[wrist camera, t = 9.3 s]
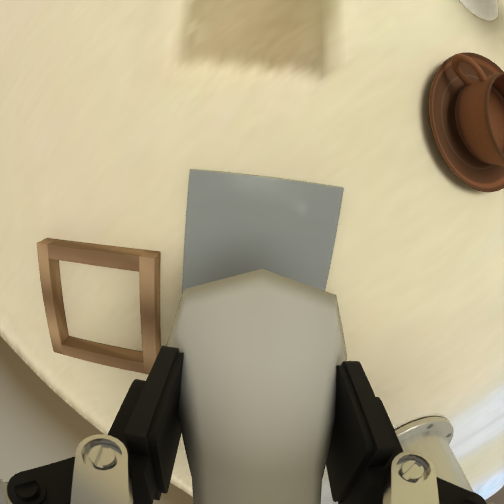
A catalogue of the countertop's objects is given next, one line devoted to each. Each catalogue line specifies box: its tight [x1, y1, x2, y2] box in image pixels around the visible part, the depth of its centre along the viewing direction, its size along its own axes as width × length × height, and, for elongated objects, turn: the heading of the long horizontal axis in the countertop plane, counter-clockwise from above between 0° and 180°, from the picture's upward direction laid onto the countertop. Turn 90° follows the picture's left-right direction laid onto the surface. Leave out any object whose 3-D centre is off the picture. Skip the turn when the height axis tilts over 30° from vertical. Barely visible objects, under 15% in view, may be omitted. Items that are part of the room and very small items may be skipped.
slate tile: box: [182, 169, 344, 294], centre depth 24 cm, size 11×11×1 cm
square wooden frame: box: [37, 238, 161, 374], centre depth 25 cm, size 11×11×2 cm
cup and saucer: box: [429, 53, 504, 192], centre depth 18 cm, size 12×12×6 cm
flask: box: [167, 269, 347, 504], centre depth 7 cm, size 7×7×10 cm
